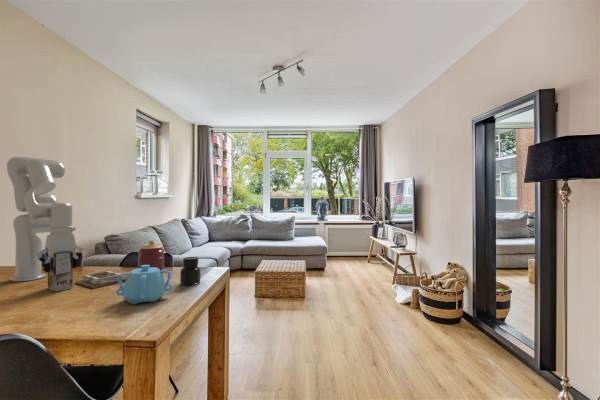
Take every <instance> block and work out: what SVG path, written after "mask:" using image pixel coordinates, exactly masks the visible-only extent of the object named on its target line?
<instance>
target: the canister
mask: <svg viewBox="0 0 600 400" xmlns="http://www.w3.org/2000/svg"><path fill="white" fill-rule="evenodd" d="M139 249H140V250H137V253H138V257H137V269H139V268H141V266H142V265H150V267H149V268H151V267H156V268H158V269H159V270H160V271H161V270H165V255H164V253H165V250H164V249H163V245H162V244H160V243H155V241H154V240H149V241H148V243H146V244H145V243H144V244H142V245H141V246H140V247H139ZM163 273H164V272H162V274H163Z"/></svg>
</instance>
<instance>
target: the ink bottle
mask: <svg viewBox="0 0 600 400" xmlns="http://www.w3.org/2000/svg"><path fill="white" fill-rule="evenodd" d="M179 273H180V274H179V275H180V276H179V277H180V281H179V282H180V283H179V284H180V285H182V286H193V285H192V284H195V283H198V282H200V283H201V268H200V267H199V257H198V256H188V257H187V256H186V257H183V258H182V268H181V269H180V272H179ZM198 284H199V283H198ZM195 285H196V284H195Z"/></svg>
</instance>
